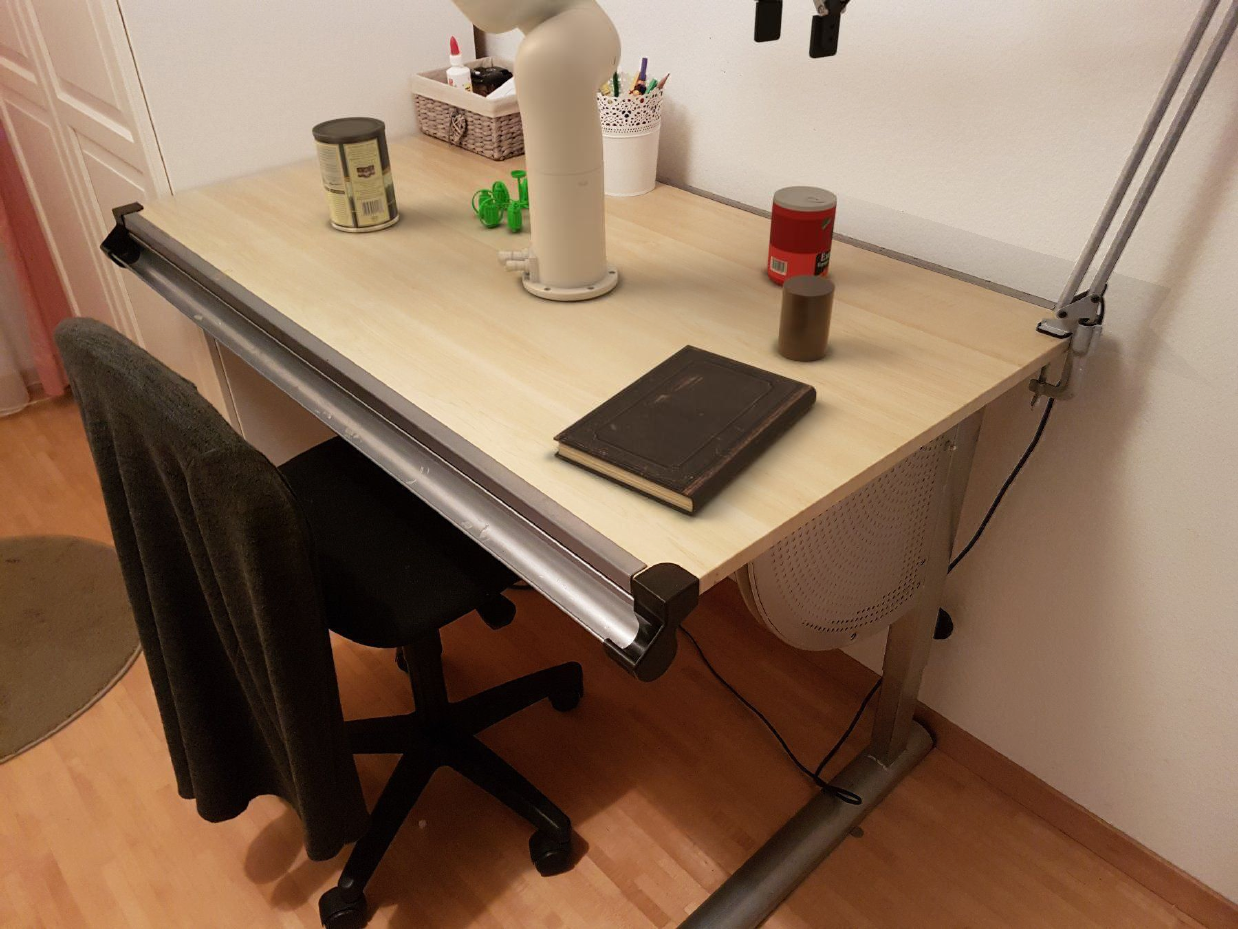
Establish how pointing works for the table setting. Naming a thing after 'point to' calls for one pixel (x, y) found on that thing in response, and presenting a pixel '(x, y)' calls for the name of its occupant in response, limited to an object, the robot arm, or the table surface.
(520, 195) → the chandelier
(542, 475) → the table surface
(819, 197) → the canned food
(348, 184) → the coffee can
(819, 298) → the walnut cylinder
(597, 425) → the hardcover book
